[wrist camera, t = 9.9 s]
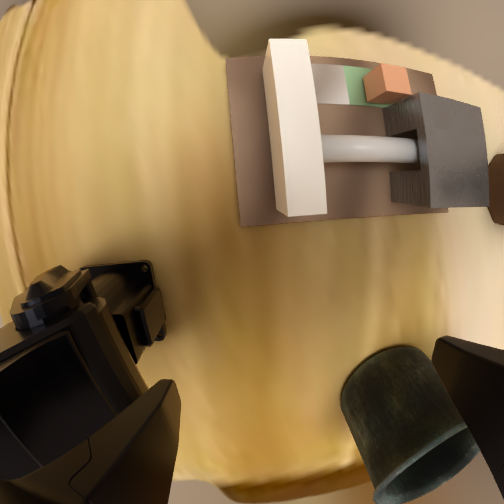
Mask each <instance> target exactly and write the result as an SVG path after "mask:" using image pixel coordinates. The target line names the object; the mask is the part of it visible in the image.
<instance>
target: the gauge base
mask: <svg viewBox="0 0 504 504" xmlns="http://www.w3.org/2000/svg"><path fill="white" fill-rule="evenodd" d="M264 60H265V56H249V57H235V58H226V69H227V81H228V93H229V104H230V116H231V127H232V138H233V149H234V160H235V171H236V182H237V192H238V203H239V213H240V223H241V227H249V226H259V225H270V224H281V223H293V222H305V221H317V220H330V219H343V218H358V217H372V216H388V215H405V214H424V213H445V212H448V207H447V208H428V207H422V206H415V205H409V204H403V203H396V202H391V192H390V175H389V172H396V171H421V166H420V159H419V161H418V162H417V163H395V162H324V173H325V186H326V201H327V214H317V215H304V216H292V217H287V216H286V215H284V214H283V213H281V212H279V211H278V210H276V200H275V188H274V176H273V165H272V155H271V144H270V134H269V124H268V115H267V105H266V96H265V87H264V79H263V65H264ZM310 62H311V68H312V74H313V80H314V87H315V93H316V100H317V108H318V116H319V124H320V132H321V135H361V136H382V137H386V133H385V125H384V118H383V111H382V109H383V108H385V107H387V106H389V104H381V103H371V102H367V98H366V92H365V87H364V81H363V77H364V76H365V75H366V74H368V73H369V72H370V71H371V70H373V69H374V68H375V67H376V66H378V65H379V64H380V63H376V62H369V61H362V60H354V59H345V58H334V57H320V56H310ZM406 70H407V74H408V79H409V84H410V88H411V93H412V95H413V94H415V93H417V92H422V93H427V94H432V95H436V96H437V94H436V90H435V85H434V81H433V76H432V74H429V73H425V72H421V71H417V70H412V69H408V68H406ZM399 101H400V100H399ZM397 102H398V101H397ZM415 140H416V139H415ZM417 141H418V140H417Z"/></svg>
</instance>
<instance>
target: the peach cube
mask: <svg viewBox="0 0 504 504" xmlns="http://www.w3.org/2000/svg"><path fill="white" fill-rule="evenodd" d="M363 81H364V87H365V92H366V98H367V102H371V103H381V104H389V105H391V104H393V103H395V102H397V101H399V100H402V99H404V98H406V97H408V96H410V95H412V93H411V88H410V84H409V79H408V74H407V70H406V68H404V67H399V66H394V65H388V64H383V63H380V64H379V65H378V66H376V67H375V68H374V69H373V70H371V71H370V72H369V73H368V74H366V75H365V76H364V77H363Z"/></svg>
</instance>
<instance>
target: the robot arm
mask: <svg viewBox="0 0 504 504" xmlns="http://www.w3.org/2000/svg"><path fill="white" fill-rule="evenodd" d="M143 265H146V266H147V270H144V269H143ZM10 315H11V317H12V319H13V321H12V322H11V323H9V324H7V325H6V326H4V327H2V328H1V329H0V504H168V499H169V494H170V488H171V482H172V477H173V472H174V466H175V461H176V456H177V450H178V443H179V428H180V413H181V400H180V396H179V393H178V390H177V387H176V383H175V381H174V380H172V379H162V380H160V381H158V382H157V383H156V384H155V385H154V386H152V387H151V388H150V389H149V388H148V387H147V385H146V383H145V381H144V379H143V378H142V376H141V374H140V372H139V370H138V368H137V366H136V365H135V364H137V363H138V361H139V359H140V357H141V355H142V353H143V351H144V349H145V348H146V347H150V346H151V345H152V344H153V342H154V341H161V340H163V339H164V338H165V336H166V331H165V327H164V321H165V319H166V317H165V312H164V308H163V303H162V298H161V293H160V289H159V288H158V287H157V286H156V285H155V279H154V274H153V268H152V265H151V263H150V262H149V261H147V260H142V261H132V262H122V263H112V264H102V265H92V266H84V267H81V268H80V269H79V270H76V271H72V272H71V271H68V270H67V269H65V268H64V267H63V266H61V265H59V266H56V267H54V268H52V269H50V270H48V271H46V272H44V273H42V274H41V275H39V276H37V277H36V278H35V279H34V280H33V282H32V283H31V284H30V286H29V287H28V288H26V290H25V291H24V293H22V294H20V295H18V296H17V297H15V298H14V300H13V303H12V307H11V310H10ZM158 333H161V334H162V336H160V335H158ZM432 364H433V366H434V368H435V370H436V372H437V374H438V376H439V378H440V380H441V382H442V384H443V386H444V388H445V390H446V392H447V394H448V396H449V397H450V399H451V401H452V402H453V404H454V405H455V407H456V409H457V410H458V412H459V414H460V415H461V417H462V419H463V421H464V422H465V424H466V426H467V427H468V429H469V431H470V433H471V434H472V436H473V438H474V440H475V442H476V444H477V445H478V447H479V449H480V451H481V453H482V455H483V457H484V459H485V460H486V463H487V464H488V466H489V468H490V471H491V472H492V475H493V476H494V479H495V481H496V483H497V485H498V488H499V490H500V492H501V494H502V497H503V499H504V350H501V349H497V348H493V347H489V346H485V345H481V344H477V343H474V342H470V341H466V340H462V339H458V338H455V337H451V336H443V337H440V338H438V339H437V340H436V342H435V347H434V351H433V355H432Z"/></svg>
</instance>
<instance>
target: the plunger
mask: <svg viewBox="0 0 504 504" xmlns="http://www.w3.org/2000/svg"><path fill="white" fill-rule="evenodd" d="M263 79H264V87H265V96H266V105H267V115H268V124H269V134H270V144H271V155H272V165H273V176H274V188H275V200H276V210H278V211H279V212H281V213H283V214H284V215H286V216H287V217H292V216H304V215H317V214H327V201H326V186H325V173H324V162H395V163H417V162H418V161H419V159H420V154H419V144H418V141H417V140H415V139H409V138H397V137H382V136H361V135H321V132H320V124H319V116H318V108H317V100H316V93H315V87H314V80H313V74H312V68H311V62H310V56H309V50H308V45H307V40H306V39H269V41H268V46H267V51H266V55H265V60H264V65H263Z"/></svg>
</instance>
